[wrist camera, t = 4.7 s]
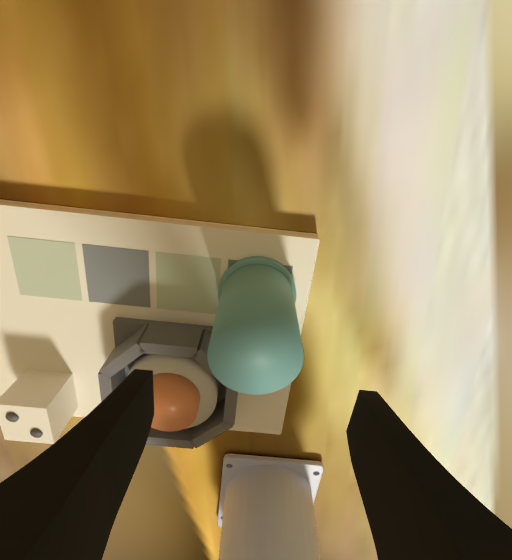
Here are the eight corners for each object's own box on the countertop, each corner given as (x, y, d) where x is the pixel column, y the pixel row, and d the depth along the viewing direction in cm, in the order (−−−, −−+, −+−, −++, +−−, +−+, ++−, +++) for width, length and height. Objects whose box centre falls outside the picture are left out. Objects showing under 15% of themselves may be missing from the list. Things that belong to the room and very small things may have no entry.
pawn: (289, 327, 20) (299, 402, 15) (217, 320, 20) (200, 393, 15) (301, 260, 18) (317, 318, 13) (221, 252, 18) (204, 307, 13)
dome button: (216, 417, 22) (212, 446, 20) (132, 410, 22) (119, 438, 20) (222, 350, 20) (217, 376, 18) (127, 341, 20) (112, 366, 18)
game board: (280, 423, 25) (283, 475, 21) (-17, 396, 24) (-67, 445, 21) (317, 233, 19) (330, 261, 15) (-85, 190, 18) (-174, 207, 14)
